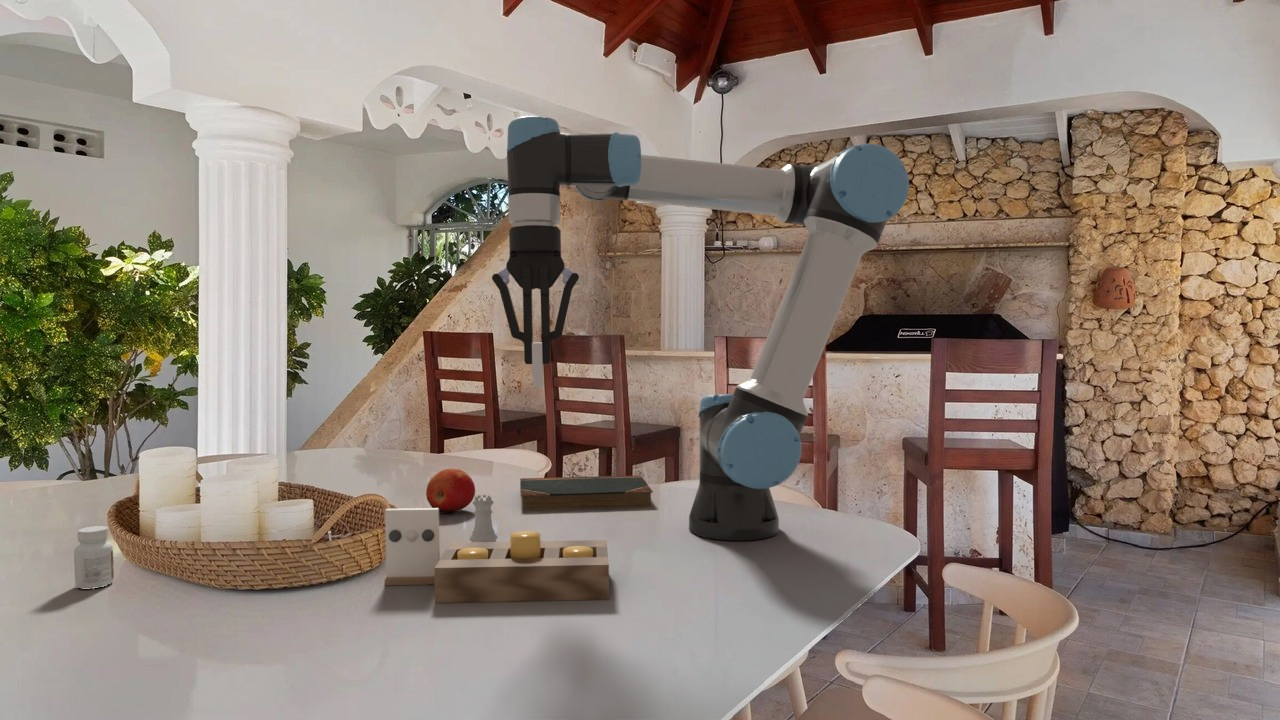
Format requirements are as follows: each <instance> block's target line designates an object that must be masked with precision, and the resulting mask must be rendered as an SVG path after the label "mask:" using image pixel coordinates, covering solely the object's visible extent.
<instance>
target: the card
mask: <svg viewBox="0 0 1280 720" xmlns="http://www.w3.org/2000/svg"><path fill="white" fill-rule="evenodd" d="M384 517H385V518H384V519H385V525H384V526H385V527H384V528H385V575H386V576H385V578H384V586H422V585H423V586H425V585H426V586H427V584H428V585H430V584H432V585H434V586H435V571H434V568H435V566H436V565H437V563H438V561H439V560H440V558H441V556H440V512H439V508H432V507H418V508H417V507H415V508H413V507H412V508H411V507H408V508H406V507H405V508H402V507H401V508H399V507H398V508H386V509H385V510H384ZM430 586H431V585H430Z"/></svg>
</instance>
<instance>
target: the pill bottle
mask: <svg viewBox="0 0 1280 720" xmlns="http://www.w3.org/2000/svg"><path fill="white" fill-rule="evenodd" d="M108 538H109V527H108V526H105V525H94V526H87V527H83V528H80V529H78V530H77V541H78V542H79V544H78V545H77V546H76V547H75V548H74V549H73V552H74V553H73V557H74V558H73V560H74V583H75V585H74V586H75V588H76V589H77V588H93V587H100V586H103V585H107V584H110V583H112V582H113V581H114V582H115V577H114V574H115V573H114V572H115V570H114V545H113V544H112V542H110V541H108V540H107V539H108ZM114 582H113V583H114ZM113 583H112V584H113ZM110 585H111V584H110Z"/></svg>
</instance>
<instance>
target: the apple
mask: <svg viewBox="0 0 1280 720" xmlns="http://www.w3.org/2000/svg"><path fill="white" fill-rule="evenodd" d="M425 491H426V493H425V496H426V500H427V502H428V504H429V506H431V508H439V513H443V514H449V513H454V512H457V511H460V510H463V509H465V508H466V507H468V506H469V505H470V503H473V502H472V501H474V499H475V496H476V487H475V483H474V480H473V479H472V477H471V476H470V475H469V474H468V472H465V471H464V470H461V469H460V468H445V469H441V470H440V471H439V472H436V473H435V474H434V475H433V476H432V477H431V478H430V479H429V481H428V483H427V485H426V490H425Z"/></svg>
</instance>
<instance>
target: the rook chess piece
mask: <svg viewBox="0 0 1280 720" xmlns="http://www.w3.org/2000/svg"><path fill="white" fill-rule="evenodd" d="M494 503H495V502H494V501H493V499H492V496H491V495H489V494H488V495H487V494H482V496H481V495H475V496H474V499H473V502H472V504H473V506H474V507H475V511H474V512H473V514H474V516H475V520H474V526H473V527H474V528H473V530H472V534H471V535H470V536H469V541H470V542H497V539H498V535H497V534H496V533H495V530H494V527H493V520H492V513H493V511H492V508H491V507H492V506H493V504H494Z"/></svg>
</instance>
